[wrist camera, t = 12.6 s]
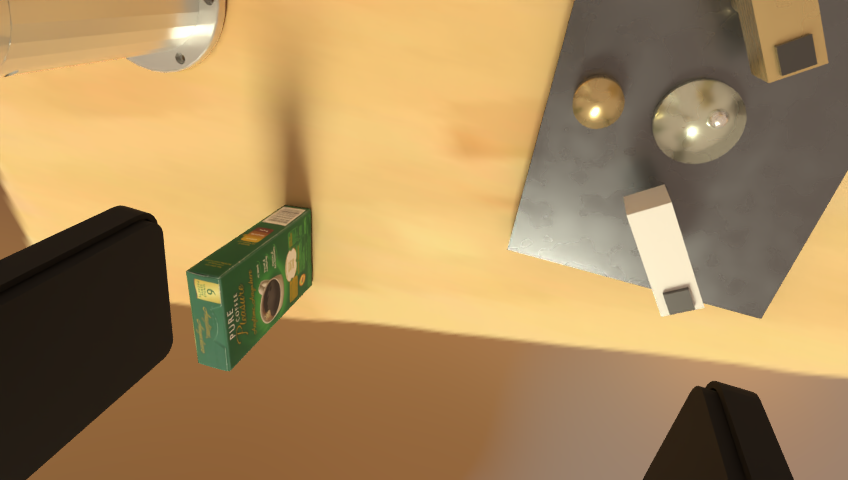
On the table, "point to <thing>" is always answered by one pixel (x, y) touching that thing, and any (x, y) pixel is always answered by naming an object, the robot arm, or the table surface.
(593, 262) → the levelling plate
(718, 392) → the robot arm
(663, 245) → the white t-shaped handle
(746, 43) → the wooden bar knob
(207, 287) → the coffee box
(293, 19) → the table surface
